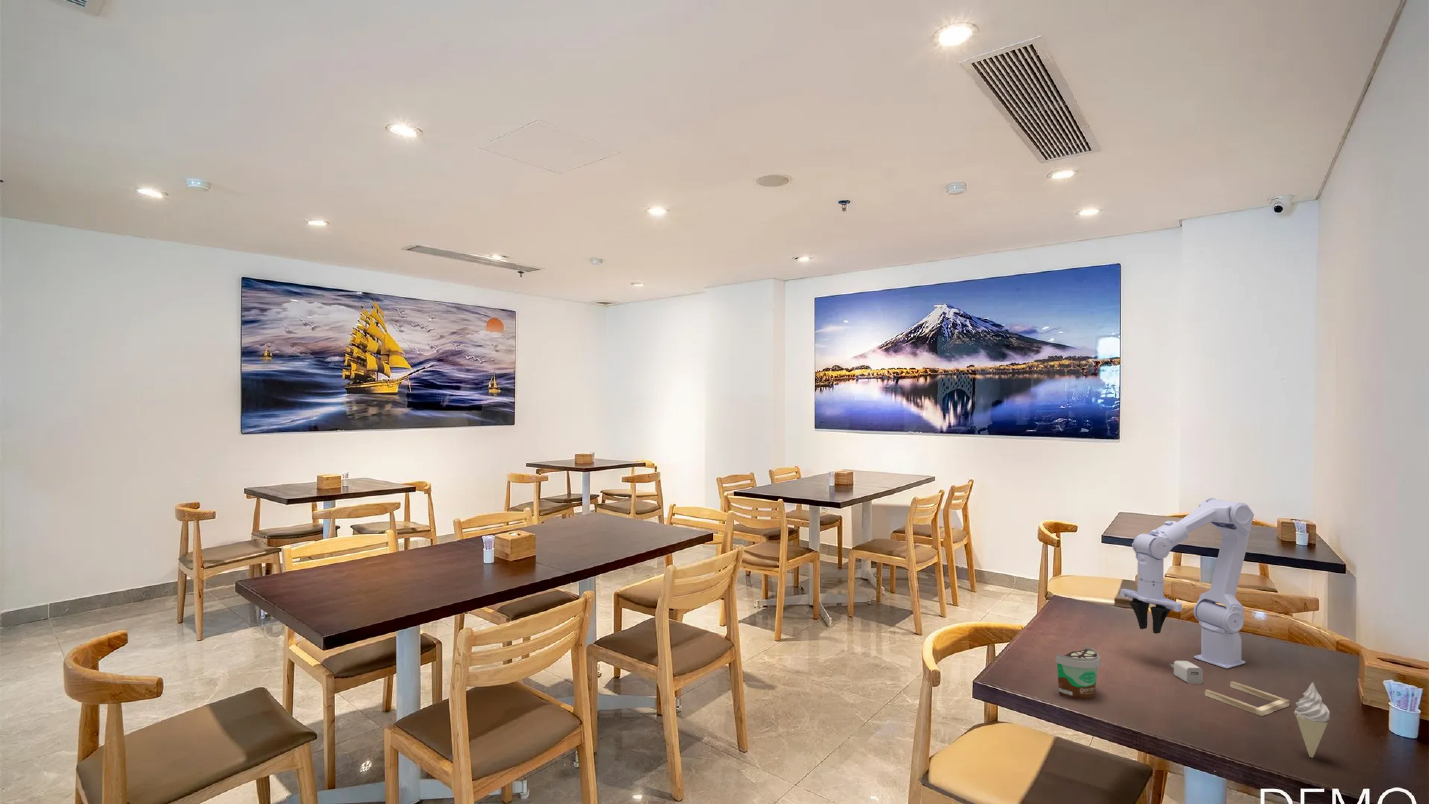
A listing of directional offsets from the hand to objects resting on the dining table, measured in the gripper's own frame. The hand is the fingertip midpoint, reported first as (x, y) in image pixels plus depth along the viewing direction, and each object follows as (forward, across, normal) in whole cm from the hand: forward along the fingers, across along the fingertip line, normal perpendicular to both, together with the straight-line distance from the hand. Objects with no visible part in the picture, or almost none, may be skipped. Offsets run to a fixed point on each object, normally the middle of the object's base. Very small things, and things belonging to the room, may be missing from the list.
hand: (1149, 630), depth 167 cm
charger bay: (+9, +21, 0) cm, 23 cm away
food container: (+10, +4, -34) cm, 35 cm away
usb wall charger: (+10, +8, 0) cm, 13 cm away
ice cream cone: (+10, +40, -18) cm, 45 cm away
